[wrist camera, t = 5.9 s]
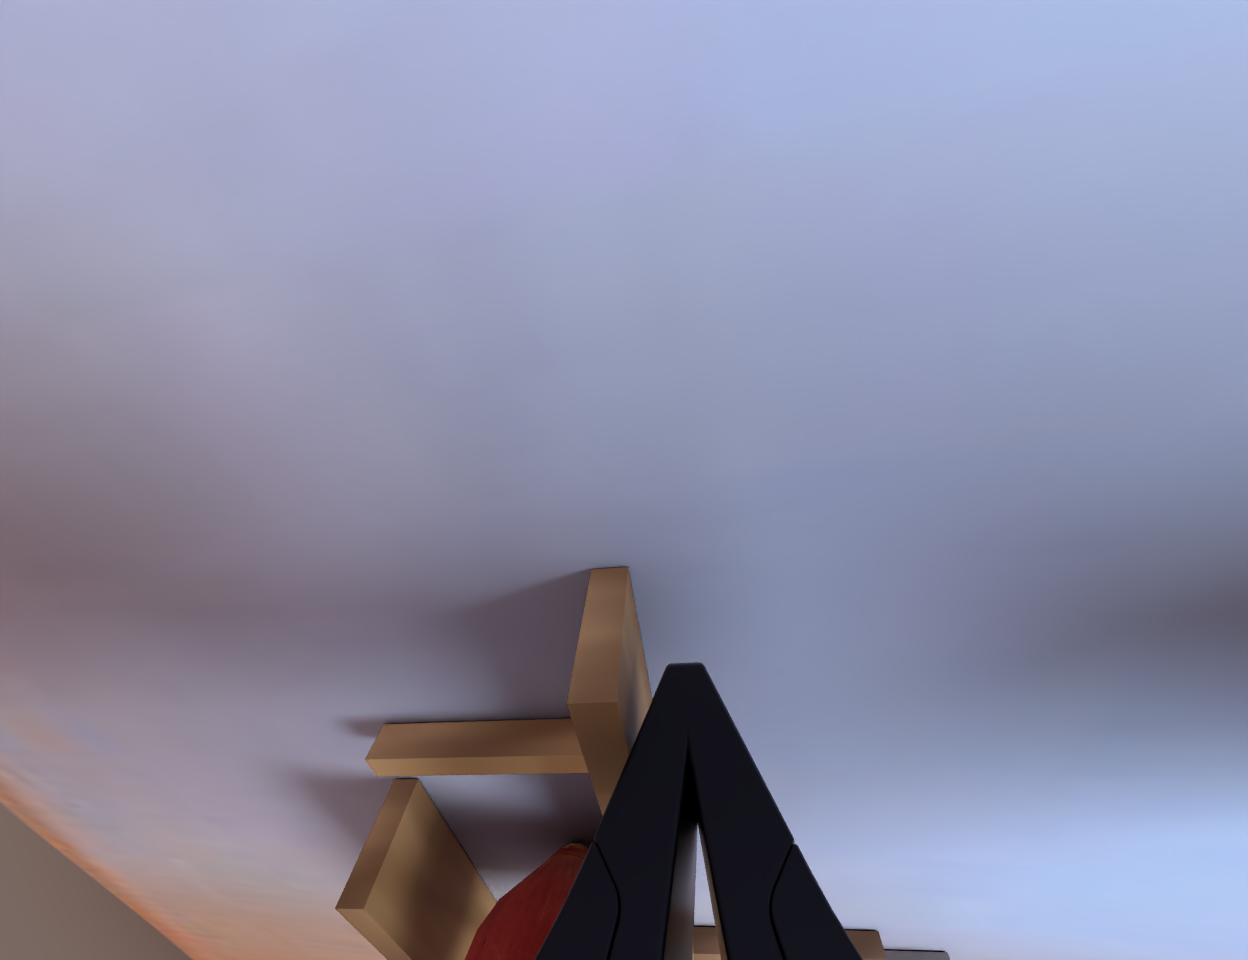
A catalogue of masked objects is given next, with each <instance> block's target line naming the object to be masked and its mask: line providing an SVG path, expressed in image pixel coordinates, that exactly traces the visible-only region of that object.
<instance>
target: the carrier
mask: <svg viewBox="0 0 1248 960" xmlns="http://www.w3.org/2000/svg"><path fill="white" fill-rule="evenodd" d="M651 702H652V695H651V690H650V684H649V679H648V673H647V668H646V662H645V656H644V651H643V645H642V640H641V634H640V629H639V623H638V618H637V612H636V607H635V601H634V596H633V590H632V585H631V579H630V574H629V568H628V567H618V568H604V569H592V570H591V575H590V580H589V586H588V591H587V596H586V602H585V607H584V613H583V618H582V623H581V629H580V634H579V639H578V645H577V650H576V655H575V661H574V666H573V672H572V677H571V682H570V688H569V693H568V698H567V707H568V710H569V713H570V716H571V718H570V719H538V720H507V721H475V722H444V723H412V724H384V725H383V726H382V728H381V730H380V732H379V734H378V736H377V738H376V740H375V741H374V743H373V745H372V747H371V749H370V751H369V753H368V755H367V757H366V758H365V760H366V762H367V763H368V765H369V766H370V768H371V769H372V770H373V772H374V773H375V775H376V776H428V775H488V774H547V773H589V776H590V779H591V782H592V785H593V788H594V791H595V794H596V798H597V801H598V804H599V807H600V810H601V813H602V816H603V814H604V812H605V810H606V807H607V805H608V803H609V800H610V798H611V796H612V793H613V791H614V789H615V786H616V784H617V782H618V779H619V777H620V774H621V772H622V770H623V767H624V765H625V763H626V760H627V758H628V756H629V753H630V751H631V749H632V746H633V744H634V742H635V739H636V737H637V735H638V732H639V730H640V728H641V725H642V723H643V721H644V718H645V716H646V714H647V711H648V709H649V707H650V704H651ZM496 903H497V902H496V901H495V899H494V898H493V896H492V895H491V893H490V891H489V890H488V888H487V887H486V885H485V884H484V882H483V880H482V879H481V877H480V876H479V874H478V872H477V871H476V869H475V868H474V866H473V865H472V863H471V861H470V860H469V858H468V857H467V855H466V854H465V852H464V850H463V849H462V847H461V846H460V844H459V843H458V841H457V839H456V838H455V836H454V835H453V833H452V831H451V830H450V828H449V827H448V825H447V824H446V822H445V820H444V819H443V817H442V816H441V814H440V813H439V811H438V809H437V808H436V806H435V805H434V803H433V802H432V800H431V798H430V797H429V795H428V794H427V792H426V790H425V789H424V787H423V786H422V784H421V783H420V781H419V779H395V780H394V782H393V784H392V786H391V789H390V791H389V793H388V795H387V797H386V799H385V802H384V804H383V806H382V808H381V810H380V812H379V815H378V817H377V819H376V821H375V823H374V825H373V828H372V830H371V832H370V834H369V836H368V838H367V841H366V843H365V845H364V847H363V849H362V851H361V854H360V856H359V858H358V860H357V862H356V864H355V866H354V869H353V871H352V873H351V875H350V877H349V879H348V882H347V884H346V886H345V888H344V890H343V892H342V895H341V897H340V899H339V901H338V903H337V905H336V908H335V909H336V910H337V911H338V912H339V913H340V914H341V915H342V916H343V917H344V918H345V919H346V920H347V921H348V922H349V923H350V924H351V925H352V926H353V927H354V928H355V929H357V930H358V931H359V932H360V933H361V934H362V935H363V936H364V937H365V938H366V939H367V940H368V941H369V942H370V943H371V944H372V945H373V946H374V947H375V948H376V949H377V950H378V951H379V952H380V953H381V954H382V955H383V956H384V957H385V958H386V959H387V960H465V957H466V955H467V952H468V950H469V948H470V945H471V943H472V940H473V938H474V936H475V933H476V931H477V929H478V928H479V926H480V925H481V924H482V922H483V921H484V920H485V918H486V917H487V915H488V914H489V913H490V911H491V910H492V909H493V907H494V906H495V905H496ZM692 960H694V956H692Z"/></svg>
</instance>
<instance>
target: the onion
mask: <svg viewBox="0 0 1248 960" xmlns="http://www.w3.org/2000/svg"><path fill="white" fill-rule="evenodd" d="M588 849H589V848H588V847H586V846H583V845H582V844H581V843H579V844H575V843H571V844H567V845H565V846H563V847H562V848H560V849H559V850H558V851H557V852H556V853H555V854H554V855H553V856H552V857H551V858H550V859H548V860H547V861H546V862H545V863H544V864H542V865H541V866H540V867H539V868H537V869H536V870H535V871H534V872H532V873H531V874H530V875H529V876H527V877H526V878H525V879H524V880H522V881H521V882H520V883H519V884H517V885H516V886H515V887H514V888H513V889H511V890H510V891H509V892H508V893H507V894H505V895H504V896H503V897H502V898H500V899H499V901H498V902H497V903H496V905H495V906H494V907H493V909H492V910H491V911H490V913H489V914H488V915H487V917H486V918H485V920H484V921H483V922H482V924H481V925H480V926H479V928H478V929H477V931H476V933H475V936H474V938H473V940H472V943H471V945H470V948H469V950H468V952H467V955H466V957H465V960H534V959H535V957H536V955H537V953H538V952H539V950H540V948H541V946H542V944H543V942H544V941H545V939H546V937H547V935H548V933H549V931H550V929H551V927H552V925H553V923H554V921H555V920H556V918H557V916H558V914H559V912H560V910H561V908H562V906H563V904H564V902H565V900H566V898H567V896H568V894H569V891H570V889H571V887H572V885H573V883H574V881H575V878H576V876H577V874H578V872H579V870H580V867H581V865H582V863H583V861H584V858H585V856H586V854H587V851H588Z"/></svg>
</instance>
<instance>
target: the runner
mask: <svg viewBox="0 0 1248 960" xmlns="http://www.w3.org/2000/svg"><path fill="white" fill-rule="evenodd" d="M845 931H846V933H847V935H848V936H849V938H850V940H851V941H852V943H853V944H854V946H855V948H856V949H857V951H858V953H859V954H860V956H861V957H862V959H863V960H887V958H886V955H885V952H884V948H883V945H882V942H881V938H880V935H879V932H878V931H848V930H845ZM693 956H694V960H721V955H720V949H719V944H718V938H717V932H716V927H694V930H693Z"/></svg>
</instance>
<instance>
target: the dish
mask: <svg viewBox="0 0 1248 960" xmlns="http://www.w3.org/2000/svg"><path fill="white" fill-rule="evenodd" d="M884 952H885V955H886V958H887V960H950V958H949V956H948V953H947V952H919V951H884Z"/></svg>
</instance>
